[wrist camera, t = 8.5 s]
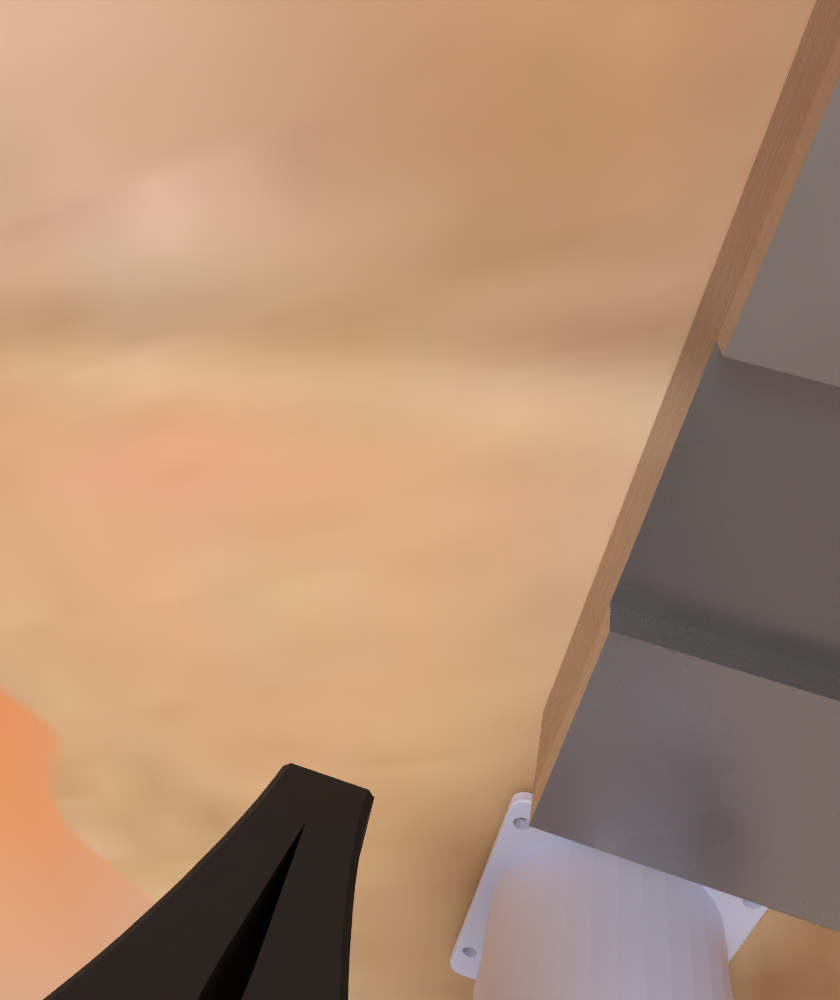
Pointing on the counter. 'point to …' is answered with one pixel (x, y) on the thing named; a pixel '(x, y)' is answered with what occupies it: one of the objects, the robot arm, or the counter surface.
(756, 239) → the slotted plate
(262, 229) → the counter surface
